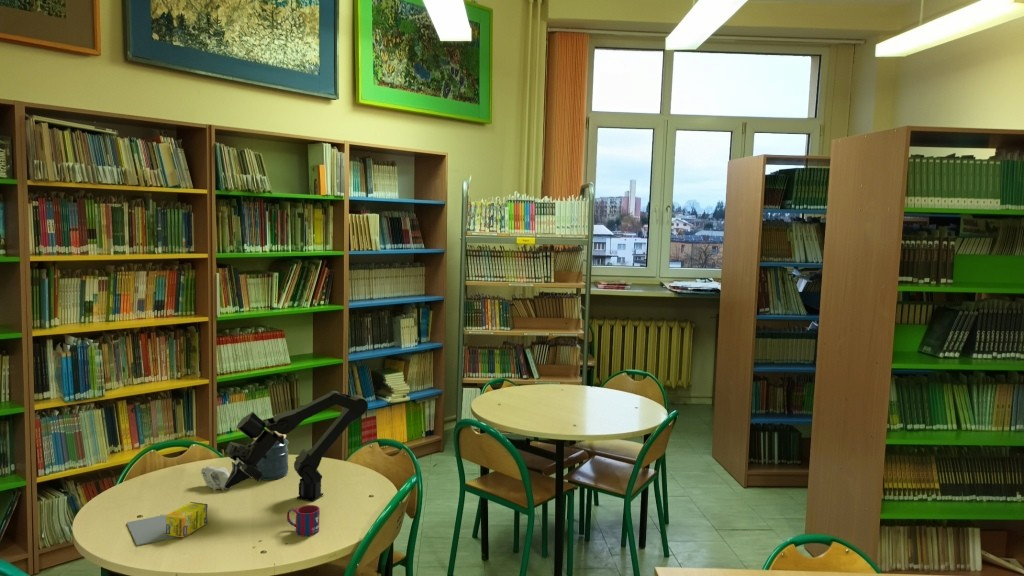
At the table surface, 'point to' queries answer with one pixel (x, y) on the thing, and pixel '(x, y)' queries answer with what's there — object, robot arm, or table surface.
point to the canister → (275, 461)
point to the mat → (149, 530)
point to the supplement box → (186, 519)
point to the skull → (215, 477)
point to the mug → (306, 520)
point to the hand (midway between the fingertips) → (225, 487)
